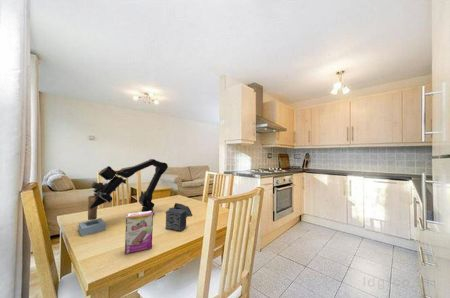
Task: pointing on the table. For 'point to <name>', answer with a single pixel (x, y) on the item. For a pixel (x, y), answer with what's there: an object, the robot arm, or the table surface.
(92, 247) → the table surface
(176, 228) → the small box
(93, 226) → the socket block
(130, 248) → the candy bar box
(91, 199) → the walnut peg
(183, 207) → the dark slate chunk
